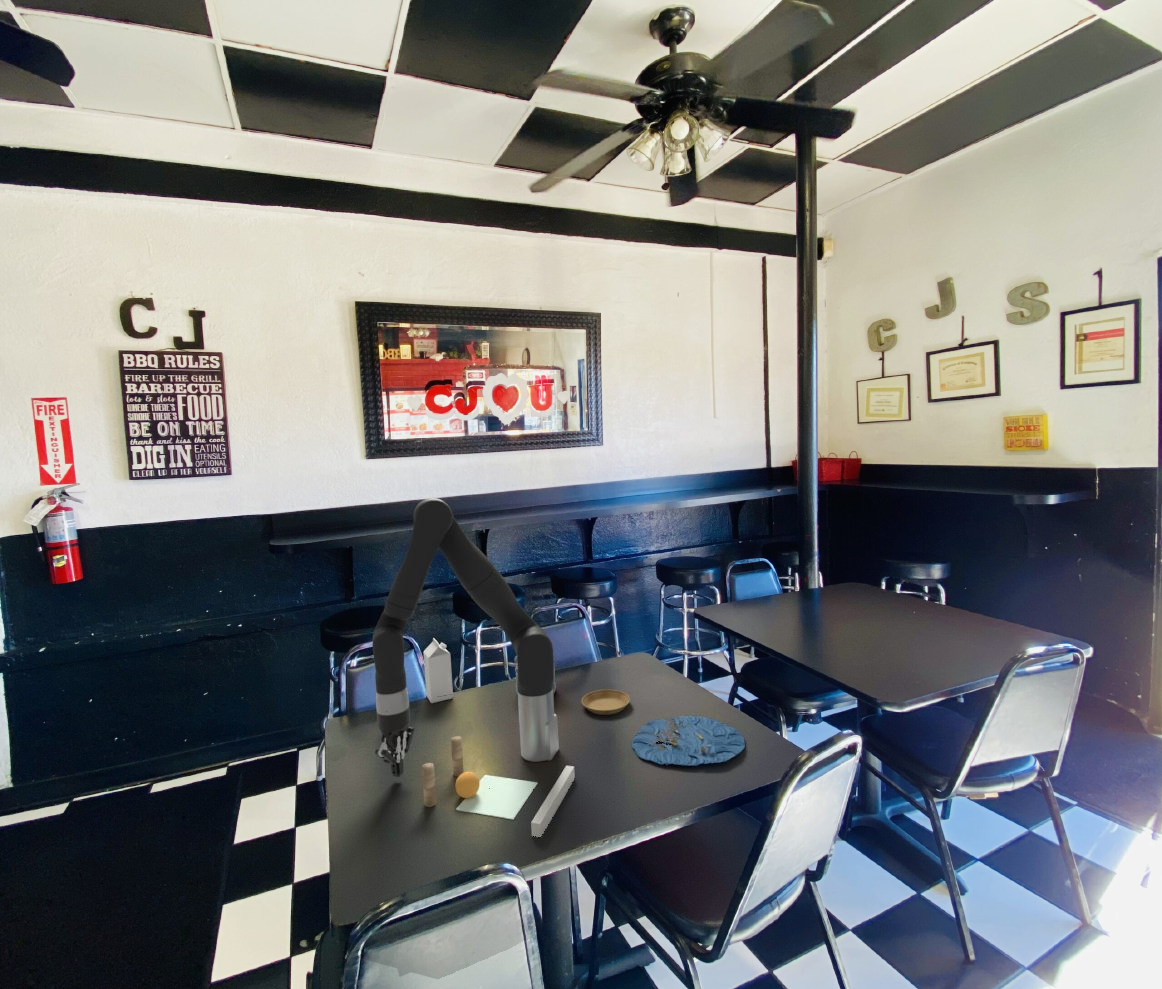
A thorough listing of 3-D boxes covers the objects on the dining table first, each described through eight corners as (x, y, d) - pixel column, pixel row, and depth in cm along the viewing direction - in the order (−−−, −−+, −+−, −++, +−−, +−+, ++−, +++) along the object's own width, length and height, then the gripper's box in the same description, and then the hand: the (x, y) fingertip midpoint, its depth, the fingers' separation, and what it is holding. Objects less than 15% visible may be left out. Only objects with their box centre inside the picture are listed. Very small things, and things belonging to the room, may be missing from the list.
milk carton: (431, 704, 186) (427, 646, 185) (426, 696, 192) (422, 639, 191) (453, 698, 189) (449, 641, 188) (447, 691, 196) (443, 635, 194)
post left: (438, 801, 134) (435, 763, 133) (432, 808, 132) (429, 769, 131) (428, 799, 135) (426, 762, 134) (422, 806, 133) (419, 768, 132)
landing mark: (537, 783, 139) (537, 782, 139) (513, 819, 126) (513, 819, 126) (485, 775, 144) (485, 774, 144) (456, 810, 131) (456, 809, 131)
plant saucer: (574, 715, 174) (574, 706, 174) (591, 694, 188) (591, 687, 188) (622, 721, 169) (621, 712, 169) (635, 700, 183) (635, 692, 183)
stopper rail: (574, 778, 141) (574, 766, 141) (540, 838, 120) (540, 824, 120) (566, 777, 141) (566, 765, 141) (531, 836, 121) (531, 822, 120)
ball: (462, 783, 139) (482, 791, 138) (449, 798, 134) (470, 807, 133) (464, 763, 138) (484, 771, 136) (451, 777, 133) (472, 786, 131)
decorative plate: (610, 740, 162) (608, 722, 161) (696, 712, 175) (695, 695, 175) (673, 789, 135) (672, 767, 135) (769, 751, 149) (768, 731, 149)
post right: (465, 771, 146) (463, 736, 145) (460, 777, 144) (458, 742, 143) (456, 770, 147) (454, 735, 146) (451, 775, 144) (448, 740, 144)
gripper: (389, 720, 134) (394, 792, 136) (421, 696, 147) (426, 762, 148) (361, 717, 137) (367, 788, 138) (396, 694, 149) (401, 759, 151)
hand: (398, 774), depth 143 cm, fingers closed
